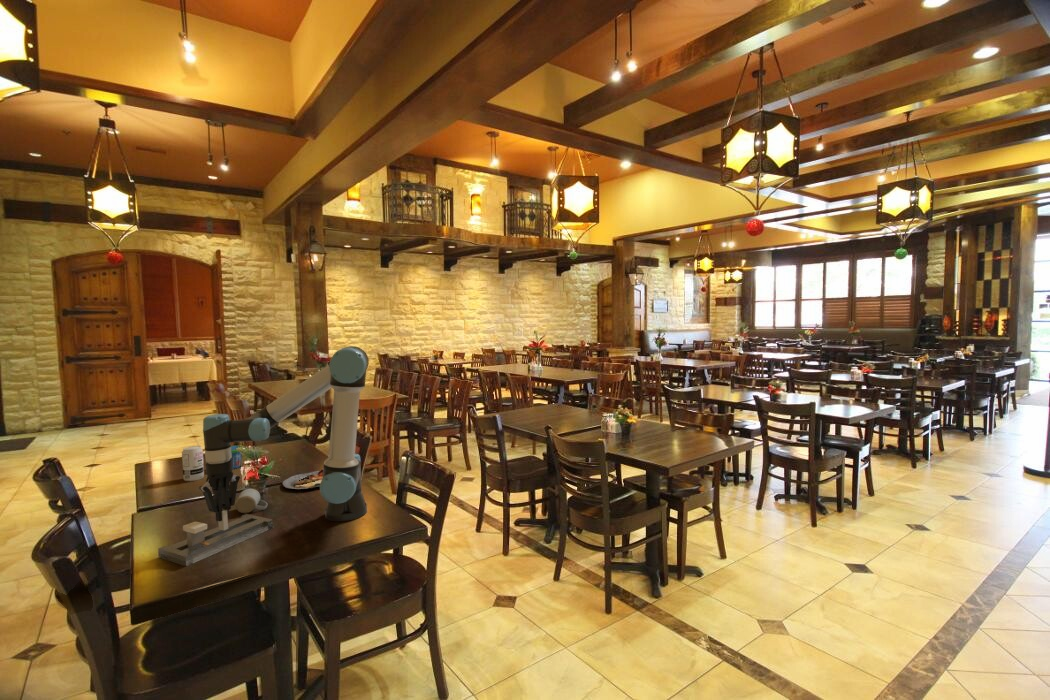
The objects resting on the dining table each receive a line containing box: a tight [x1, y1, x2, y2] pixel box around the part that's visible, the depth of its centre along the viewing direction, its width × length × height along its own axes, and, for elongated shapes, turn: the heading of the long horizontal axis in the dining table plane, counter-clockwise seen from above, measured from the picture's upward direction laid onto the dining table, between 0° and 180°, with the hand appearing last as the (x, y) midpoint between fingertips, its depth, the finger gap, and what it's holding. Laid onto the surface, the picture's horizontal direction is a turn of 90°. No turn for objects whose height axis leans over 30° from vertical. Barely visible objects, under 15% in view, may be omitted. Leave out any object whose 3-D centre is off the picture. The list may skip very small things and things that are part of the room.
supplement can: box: [181, 445, 205, 482], centre depth 234 cm, size 8×8×15 cm
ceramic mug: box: [235, 488, 268, 514], centre depth 194 cm, size 11×8×8 cm
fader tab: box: [182, 521, 208, 548], centre depth 159 cm, size 4×6×7 cm, turn 65°
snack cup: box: [231, 445, 244, 470], centre depth 251 cm, size 16×10×10 cm
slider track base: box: [157, 513, 274, 567], centre depth 166 cm, size 30×14×3 cm, turn 155°
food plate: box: [282, 469, 323, 491], centre depth 226 cm, size 25×23×4 cm
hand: (223, 529), depth 167 cm, fingers closed
